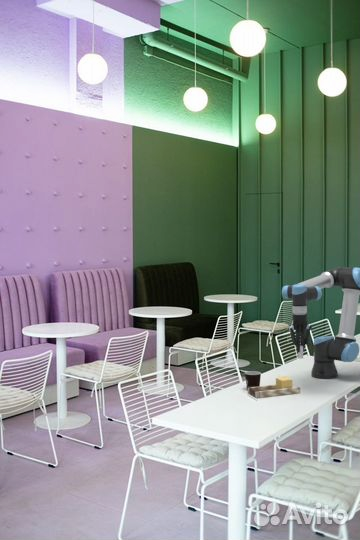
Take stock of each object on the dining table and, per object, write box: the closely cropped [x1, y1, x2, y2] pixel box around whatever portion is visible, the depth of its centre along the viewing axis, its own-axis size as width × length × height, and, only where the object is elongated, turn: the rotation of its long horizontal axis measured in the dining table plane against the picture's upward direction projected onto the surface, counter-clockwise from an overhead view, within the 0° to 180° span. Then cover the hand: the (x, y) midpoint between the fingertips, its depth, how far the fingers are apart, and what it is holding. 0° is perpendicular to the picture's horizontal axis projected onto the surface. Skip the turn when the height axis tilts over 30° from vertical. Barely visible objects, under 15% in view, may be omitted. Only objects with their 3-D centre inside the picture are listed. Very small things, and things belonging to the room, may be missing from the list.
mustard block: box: [275, 376, 293, 389], centre depth 326 cm, size 6×7×7 cm
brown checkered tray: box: [247, 383, 301, 401], centre depth 324 cm, size 25×12×4 cm, turn 108°
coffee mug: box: [244, 370, 262, 391], centre depth 335 cm, size 12×9×10 cm
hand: (300, 357), depth 328 cm, fingers closed
